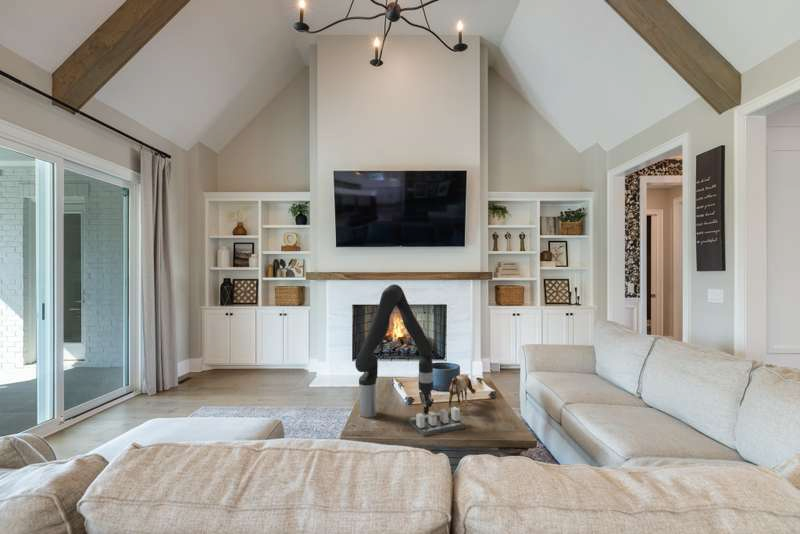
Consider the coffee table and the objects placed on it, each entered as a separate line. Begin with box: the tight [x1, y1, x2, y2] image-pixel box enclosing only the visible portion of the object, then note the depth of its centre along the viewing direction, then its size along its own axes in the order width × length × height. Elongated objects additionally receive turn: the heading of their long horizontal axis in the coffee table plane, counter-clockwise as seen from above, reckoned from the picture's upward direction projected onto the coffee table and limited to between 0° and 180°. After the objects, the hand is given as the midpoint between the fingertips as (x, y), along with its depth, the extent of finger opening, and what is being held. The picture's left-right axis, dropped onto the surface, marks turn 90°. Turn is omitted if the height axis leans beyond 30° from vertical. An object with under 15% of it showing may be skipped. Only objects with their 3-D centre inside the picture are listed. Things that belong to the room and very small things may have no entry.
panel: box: [407, 412, 465, 437], centre depth 204 cm, size 18×23×2 cm
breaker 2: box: [427, 410, 437, 426], centre depth 200 cm, size 4×3×6 cm, turn 22°
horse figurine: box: [448, 374, 477, 414], centre depth 227 cm, size 31×8×21 cm, turn 149°
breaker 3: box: [439, 408, 449, 423], centre depth 203 cm, size 4×2×6 cm, turn 22°
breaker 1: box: [415, 412, 425, 428], centre depth 198 cm, size 4×2×6 cm, turn 22°
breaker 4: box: [451, 406, 461, 421], centre depth 205 cm, size 4×2×6 cm, turn 22°
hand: (426, 413), depth 206 cm, fingers closed
